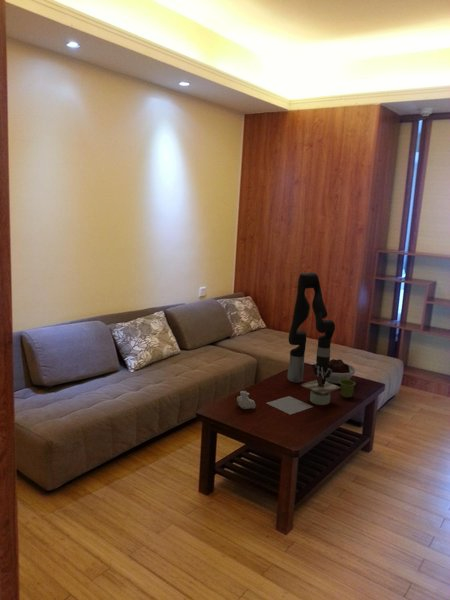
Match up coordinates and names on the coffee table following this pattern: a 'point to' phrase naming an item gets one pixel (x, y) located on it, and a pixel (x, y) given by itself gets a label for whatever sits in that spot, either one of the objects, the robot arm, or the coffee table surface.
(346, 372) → the white round tub
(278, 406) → the tray
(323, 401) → the bowl
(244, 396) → the bust
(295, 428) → the coffee table surface
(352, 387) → the plant pot
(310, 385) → the cover board
